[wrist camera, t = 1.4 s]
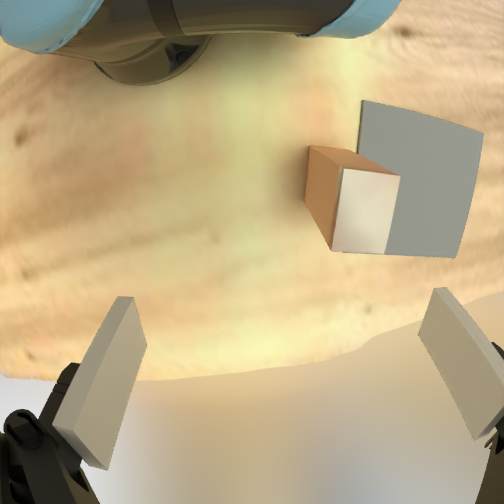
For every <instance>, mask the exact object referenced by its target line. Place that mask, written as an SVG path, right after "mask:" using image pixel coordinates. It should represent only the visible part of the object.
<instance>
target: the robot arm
mask: <svg viewBox="0 0 504 504" xmlns="http://www.w3.org/2000/svg"><path fill="white" fill-rule="evenodd" d="M400 2H401V0H0V36H1V38H3V40H4V41H5V42H6V43H7V44H9V45H11V46H13V47H17V48H20V49H24V50H27V51H29V52H32V53H35V54H44V53H47V54H55V55H62V56H68V57H74V58H80V59H86V60H91V61H93V62H94V64H95V65H96V66H97V68H98V69H99V70H100V71H101V72H102V73H104V74H105V75H106V76H108V77H109V78H111V79H113V80H116V81H118V82H122V83H126V84H133V85H151V84H156V83H160V82H164V81H166V80H169V79H171V78H173V77H175V76H177V75H179V74H181V73H182V72H184V71H185V70H186V69H188V68H189V67H190V66H191V65H192V64H193V63H194V62H195V61H196V60H197V59H198V58H199V57H200V56H201V54H202V53H203V52H204V50H205V49H206V47H207V45H208V43H209V41H210V38H211V35H212V34H221V33H280V34H295V35H296V36H297V37H301V38H312V37H319V36H322V37H334V38H344V39H351V38H357V37H360V36H364V35H367V34H370V33H372V32H373V31H375V30H376V29H378V28H379V27H380V26H381V25H383V24H384V23H385V22H386V21H387V20H388V19H389V18H390V16H391V15H392V14H393V13H394V11H395V10H396V8H397V7H398V5H399V4H400ZM418 335H419V337H420V339H421V341H422V342H423V344H424V346H425V347H426V349H427V350H428V353H429V354H430V356H431V357H432V359H433V361H434V363H435V365H436V367H437V369H438V370H439V372H440V374H441V376H442V378H443V379H444V381H445V383H446V385H447V387H448V389H449V391H450V393H451V394H452V397H453V399H454V401H455V402H456V404H457V406H458V408H459V410H460V412H461V415H462V417H463V419H464V421H465V423H466V425H467V427H468V429H469V431H470V433H471V436H472V438H473V440H474V441H475V440H477V439H479V438H482V437H484V436H486V435H488V434H489V433H490V431H491V430H492V429H493V428H494V427H496V429H497V432H496V433H495V434H494V435H493V436H492V437H491V438H490V439H489V441H488V442H487V443H486V444H485V446H484V447H485V448H486V447H487V446H488V445H489V444H490V443H491V442H492V441H493V442H492V445H491V446H490V448H489V449H491V451H490V455H489V459H488V463H487V467H486V471H485V474H484V478H483V481H482V484H481V488H480V491H479V494H478V497H477V500H476V502H475V504H504V351H503V350H502V349H501V348H500V347H499V346H498V345H496V344H495V343H494V342H490V341H489V340H488V338H487V337H486V335H485V334H484V333H483V331H482V330H481V329H480V328H479V326H478V325H477V324H476V322H475V321H474V320H473V319H472V317H471V316H470V315H469V314H468V312H467V311H466V310H465V309H464V308H463V306H462V305H461V304H460V303H459V301H458V300H457V299H456V298H455V297H454V296H453V294H452V293H451V292H450V291H449V290H448V289H447V287H443V288H434V289H433V293H432V296H431V299H430V302H429V305H428V308H427V311H426V314H425V317H424V319H423V322H422V325H421V328H420V330H419V333H418ZM146 347H147V343H146V340H145V336H144V333H143V329H142V326H141V322H140V319H139V315H138V311H137V308H136V304H135V300H134V297H120V296H118V297H117V298H116V300H115V302H114V304H113V305H112V307H111V309H110V310H109V312H108V314H107V316H106V318H105V319H104V321H103V323H102V325H101V326H100V328H99V330H98V332H97V334H96V336H95V337H94V339H93V341H92V343H91V345H90V347H89V349H88V351H87V352H86V354H85V356H84V358H83V360H82V362H81V364H79V363H72V362H71V363H70V364H69V365H68V366H67V367H66V368H65V369H64V370H63V371H62V373H61V374H60V376H59V378H58V380H57V384H55V386H54V388H53V392H51V394H50V396H49V398H48V400H47V402H46V404H45V406H44V408H43V410H42V412H41V414H40V416H39V419H37V418H36V417H35V415H34V414H33V413H31V412H30V411H29V410H25V409H19V410H16V411H14V412H12V413H10V415H9V416H8V417H7V418H6V420H5V423H4V432H5V433H1V432H0V504H100V503H99V501H98V499H97V497H96V495H95V493H94V492H93V490H92V488H91V486H90V484H89V482H88V480H87V478H86V476H85V474H84V472H83V470H82V468H81V467H80V464H81V461H82V459H83V460H84V461H85V462H86V463H87V464H88V465H89V466H92V467H96V468H100V469H104V470H108V468H109V464H110V461H111V457H112V454H113V450H114V447H115V443H116V440H117V436H118V433H119V430H120V426H121V423H122V420H123V416H124V413H125V410H126V407H127V404H128V400H129V397H130V394H131V391H132V388H133V385H134V382H135V379H136V376H137V373H138V370H139V367H140V364H141V361H142V358H143V356H144V353H145V350H146Z"/></svg>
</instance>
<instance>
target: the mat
mask: <svg viewBox="0 0 504 504" xmlns="http://www.w3.org/2000/svg"><path fill="white" fill-rule="evenodd" d="M483 135H484V134H483V133H481V132H478V131H475V130H472V129H470V128H467V127H464V126H461V125H458V124H455V123H452V122H449V121H445V120H442V119H439V118H435V117H432V116H429V115H425V114H421V113H418V112H414V111H410V110H406V109H402V108H398V107H394V106H389V105H385V104H380V103H375V102H370V101H365V100H362V111H361V121H360V131H359V140H358V148H357V154H358V155H360V156H363V157H365V158H367V159H369V160H371V161H373V162H375V163H376V164H378V165H380V166H382V167H384V168H386V169H388V170H390V171H392V172H394V173H395V174H397V175H399V176H400V182H399V187H398V193H397V198H396V203H395V208H394V213H393V218H392V222H391V227H390V231H389V236H388V240H387V244H386V248H385V252H384V255H404V256H424V257H444V258H456V255H457V252H458V249H459V246H460V242H461V239H462V236H463V232H464V229H465V225H466V221H467V218H468V214H469V210H470V206H471V201H472V197H473V193H474V188H475V183H476V178H477V173H478V168H479V162H480V156H481V150H482V143H483ZM343 253H356V252H343ZM363 254H377V253H363Z"/></svg>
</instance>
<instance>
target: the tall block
mask: <svg viewBox="0 0 504 504" xmlns="http://www.w3.org/2000/svg"><path fill="white" fill-rule="evenodd" d="M399 182H400V176H399V175H397V174H395V173H394V172H392V171H390V170H388V169H386V168H384V167H382V166H380V165H378V164H376V163H375V162H373V161H371V160H369V159H367V158H365V157H363V156H360V155H358V154H356V153H354V152H352V151H350V150H344V149H336V148H328V147H319V146H310V149H309V160H308V170H307V179H306V189H305V198H304V202H305V204H306V205H307V207H308V209H309V211H310V213H311V215H312V216H313V218H314V220H315V222H316V224H317V226H318V227H319V229H320V231H321V233H322V235H323V237H324V239H325V241H326V242H327V244H328V246H329V248H330V250H331V251H335V252H356V253H377V254H384V252H385V248H386V244H387V240H388V236H389V231H390V227H391V222H392V218H393V213H394V208H395V203H396V198H397V193H398V187H399Z"/></svg>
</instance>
